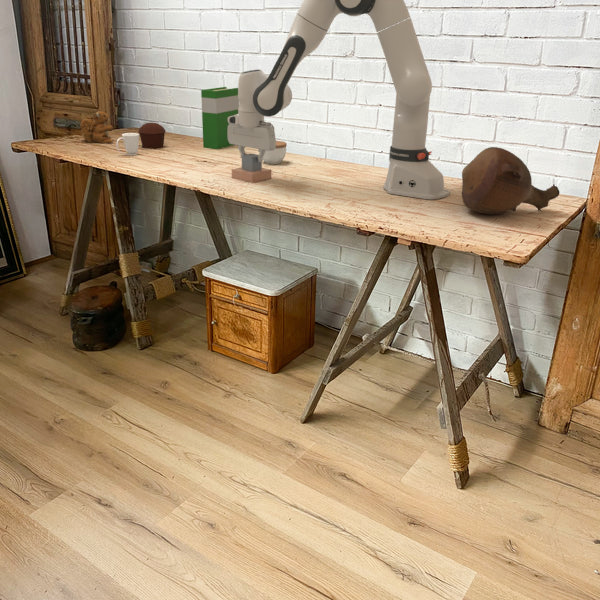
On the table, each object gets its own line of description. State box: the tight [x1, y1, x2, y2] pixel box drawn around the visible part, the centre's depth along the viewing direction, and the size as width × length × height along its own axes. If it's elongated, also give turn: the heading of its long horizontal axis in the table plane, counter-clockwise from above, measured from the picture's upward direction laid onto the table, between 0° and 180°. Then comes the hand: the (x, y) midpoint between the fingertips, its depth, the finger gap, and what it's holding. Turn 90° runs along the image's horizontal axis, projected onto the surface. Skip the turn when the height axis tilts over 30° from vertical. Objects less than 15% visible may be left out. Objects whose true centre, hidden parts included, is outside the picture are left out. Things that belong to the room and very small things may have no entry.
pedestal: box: [231, 166, 272, 184], centre depth 221 cm, size 10×10×3 cm
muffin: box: [137, 122, 167, 150], centre depth 268 cm, size 12×11×10 cm
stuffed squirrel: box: [80, 110, 114, 144], centre depth 275 cm, size 10×14×13 cm
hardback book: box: [200, 86, 239, 150], centre depth 272 cm, size 18×7×24 cm, turn 152°
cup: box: [115, 132, 140, 156], centre depth 252 cm, size 7×10×8 cm
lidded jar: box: [263, 140, 287, 165], centre depth 245 cm, size 11×11×9 cm
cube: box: [241, 152, 263, 172], centre depth 220 cm, size 5×5×5 cm
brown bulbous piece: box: [461, 146, 561, 215], centre depth 185 cm, size 20×20×30 cm
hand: (251, 160), depth 219 cm, fingers open, 6 cm apart
